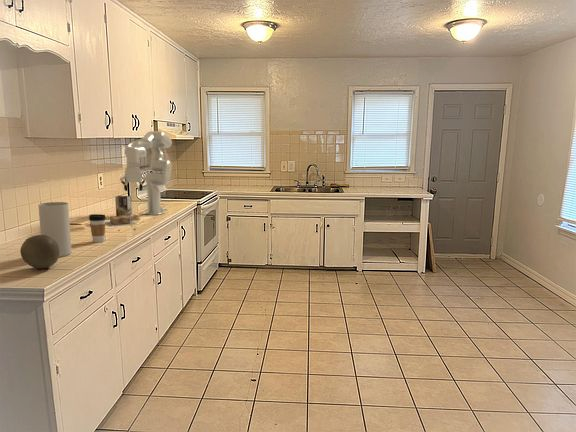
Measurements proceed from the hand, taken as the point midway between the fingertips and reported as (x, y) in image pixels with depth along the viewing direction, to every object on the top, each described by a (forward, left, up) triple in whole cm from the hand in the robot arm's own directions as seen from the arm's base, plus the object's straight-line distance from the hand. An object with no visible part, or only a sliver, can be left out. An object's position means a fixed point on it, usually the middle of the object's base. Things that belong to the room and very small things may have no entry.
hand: (133, 190), depth 285 cm
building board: (+12, +8, -22) cm, 26 cm away
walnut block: (+12, +8, -20) cm, 25 cm away
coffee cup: (+34, +47, -22) cm, 62 cm away
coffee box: (+3, -15, -22) cm, 27 cm away
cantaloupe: (+66, +87, -22) cm, 111 cm away
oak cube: (0, 0, -22) cm, 22 cm away
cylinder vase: (+57, +65, -22) cm, 89 cm away
